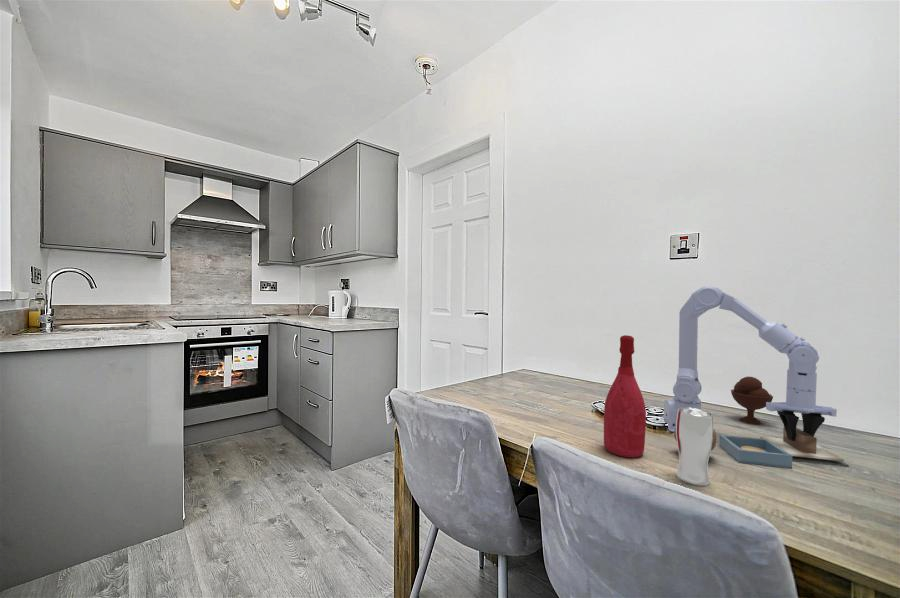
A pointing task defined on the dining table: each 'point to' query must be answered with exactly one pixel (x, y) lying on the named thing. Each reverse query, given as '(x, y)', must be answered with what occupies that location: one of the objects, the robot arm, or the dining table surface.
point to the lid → (803, 446)
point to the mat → (819, 461)
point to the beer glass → (694, 444)
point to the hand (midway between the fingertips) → (799, 440)
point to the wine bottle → (625, 408)
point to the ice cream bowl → (750, 397)
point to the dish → (755, 451)
